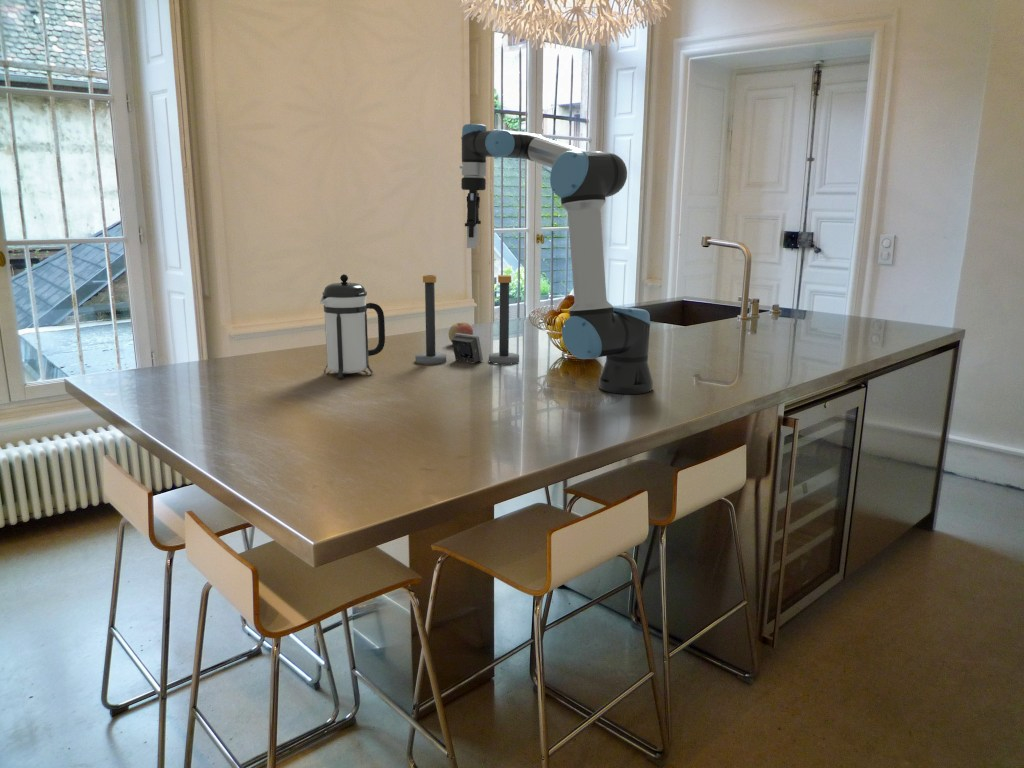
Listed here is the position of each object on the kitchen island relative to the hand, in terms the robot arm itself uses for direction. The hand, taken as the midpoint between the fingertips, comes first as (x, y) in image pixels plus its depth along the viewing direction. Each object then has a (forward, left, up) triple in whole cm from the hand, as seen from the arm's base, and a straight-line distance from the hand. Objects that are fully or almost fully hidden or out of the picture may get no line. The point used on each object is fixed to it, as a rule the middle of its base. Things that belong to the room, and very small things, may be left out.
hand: (472, 246), depth 240 cm
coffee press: (-31, +26, -37) cm, 55 cm away
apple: (+24, +15, -37) cm, 47 cm away
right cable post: (+4, -9, -37) cm, 39 cm away
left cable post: (-6, +12, -37) cm, 40 cm away
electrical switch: (-1, +1, -37) cm, 37 cm away
